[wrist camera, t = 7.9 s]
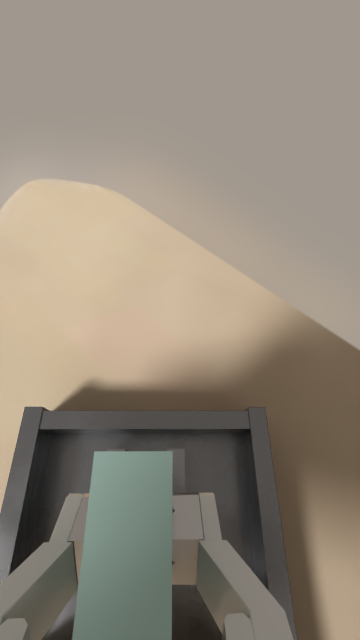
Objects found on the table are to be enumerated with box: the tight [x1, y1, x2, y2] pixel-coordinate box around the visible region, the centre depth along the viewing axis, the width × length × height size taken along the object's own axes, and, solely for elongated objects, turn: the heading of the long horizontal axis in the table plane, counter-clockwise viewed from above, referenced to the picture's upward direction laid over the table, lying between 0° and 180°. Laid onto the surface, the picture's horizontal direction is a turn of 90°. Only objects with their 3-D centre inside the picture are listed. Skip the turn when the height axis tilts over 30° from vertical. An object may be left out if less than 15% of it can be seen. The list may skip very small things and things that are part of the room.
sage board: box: [72, 451, 173, 640], centre depth 10 cm, size 4×2×10 cm, turn 0°
